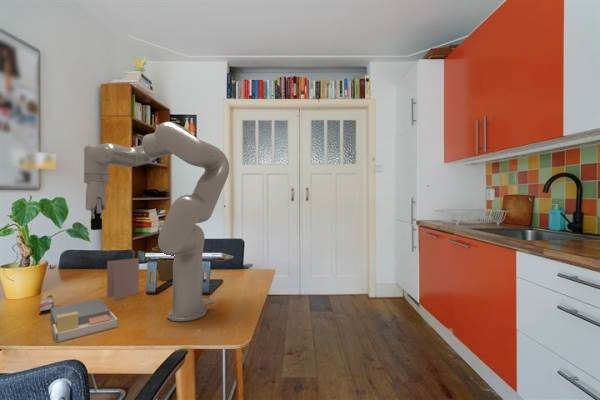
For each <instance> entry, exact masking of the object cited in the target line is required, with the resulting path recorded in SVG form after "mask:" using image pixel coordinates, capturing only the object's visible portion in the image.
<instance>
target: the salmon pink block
mask: <svg viewBox="0 0 600 400" xmlns="http://www.w3.org/2000/svg"><path fill="white" fill-rule="evenodd" d="M110 320H111V319H110V317H109V316H108V315H103V316H99V317H94V318H90V319H88V326H89V325H93V324H98V323H102V322H106V321H110Z"/></svg>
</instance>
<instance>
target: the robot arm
mask: <svg viewBox="0 0 600 400" xmlns="http://www.w3.org/2000/svg"><path fill="white" fill-rule="evenodd" d="M141 142H142V143H141V145H137V146H133V147H128V146H124V145H120V144H117V143H116V144H115V143H112V142H106V143H102V144H87V145H85V146H84V148H83V183H84V184H86V189H85V205H84V206H85V210H86V211H90V230H92V231H100V230H102V229H103V211H104V210H106V207H107V205H106V204H107V191H106V190H107V188H106V185H110V180H109V179H110V173H109V172H110V165H111V166H115V167H116V166H118V167H123V168H135V167H139V166H143V165H147V164H150V163H152V162H153V161H154V160H155V159H158V158H162V157H167V156H171V155H174V156H175V157H177V158H179V160H182V161H183V162H185V163H186V164H188V165H190V166H194V167H197V168H202V169H204V172H203V174H202V175H201V176H200V177H199V179H198V181H197V182H196V185H195V187H194V189H193V191H192V193H191V194H185V195H182V196H179V197H177V199H175V200H174V201H173V203H172V204H171V206H170V208H169V210H168V212H167V214H166V217H165V220H164V222H163V225H162V226H161V229H160V231H159V234H158V239H157V242H158V243H157V244H158V247H159V248H160V250H161V251H162V252H163V253H164V254H166V255H171V256H174V255H175V256H174V260H173V280H172V309H171V310H169V312H168V313H167V319H169V320H170V321H173V322H188V321H195V320H197V319H200V318H202V317H204V316H205V315H206V314H207V306H211V305H215V304H216V299H215V298H210V299H209V298H208V297H207V298H203V256H204V255H203V254H204V253H203V252H204V246H205V232H204V231H203V229H202V228H201V227H200V226H199V225H197V224H202V223H204V222H207V221H208V220H209V219H210V218H211V217H212V215H213V212H214V210H215V208H216V206H217V203H218V201H219V199H220V196H221V193H222V191H223V189H224V186H225V184H226V181H227V180H228V178H229V174H230V163H229V160H228V157H227V156H226V154H225V153H224V151H222V150H221V149H220V148H219V147H217V146H215V145H213V144H211V143H209V142H206V141H203V140H201V139H199V138H198V137H196V136H194V135H193V132H192V131H190V130H189V129H188V128H186V127H184V126H182V125H180V124H178V123H175V122H173V121H165V122H161V123H159V125H157V126H156V127H155V130H154V132H153V133H148V134H145V135H144V136H143V137H142V140H141Z"/></svg>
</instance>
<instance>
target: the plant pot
mask: <svg viewBox="0 0 600 400" xmlns="http://www.w3.org/2000/svg"><path fill="white" fill-rule="evenodd" d="M153 253H163V252H162V251H161V250H160V248H159V246H156V247H152V254H153ZM156 272H157V274H158V277H159V280H160V281H163V282H165V281H173V280H172V279H173V261H167V260H160V261H158V271H157V270H156Z"/></svg>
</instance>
